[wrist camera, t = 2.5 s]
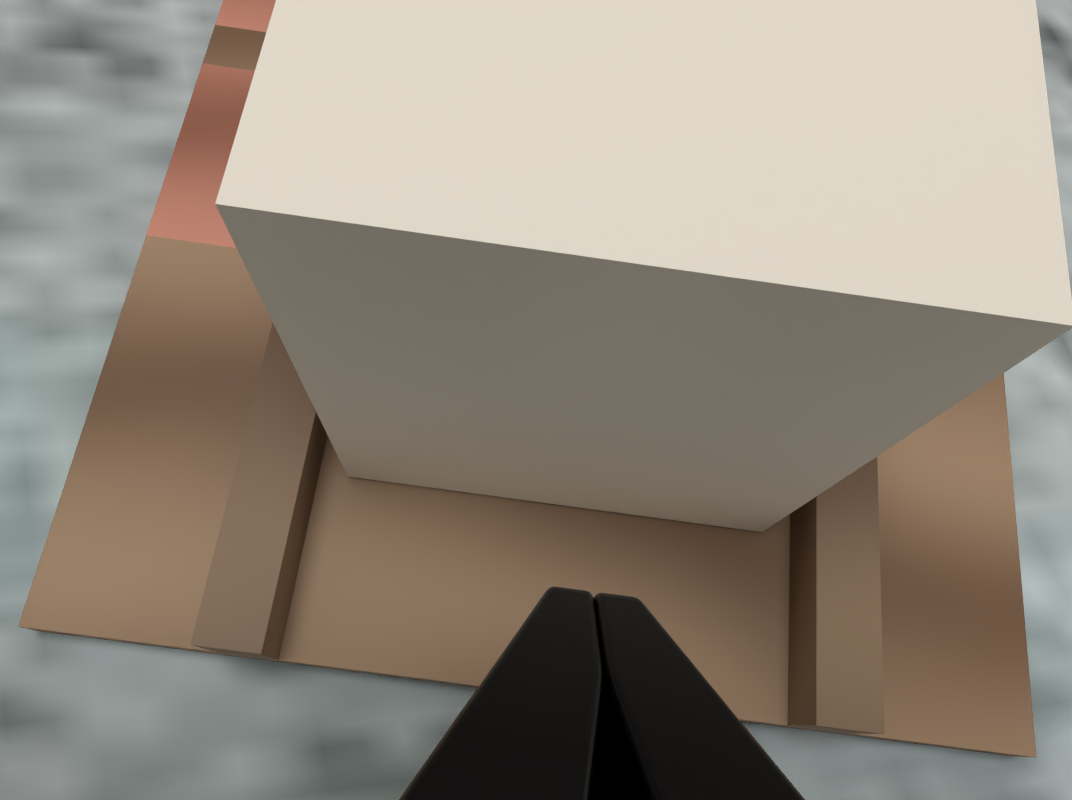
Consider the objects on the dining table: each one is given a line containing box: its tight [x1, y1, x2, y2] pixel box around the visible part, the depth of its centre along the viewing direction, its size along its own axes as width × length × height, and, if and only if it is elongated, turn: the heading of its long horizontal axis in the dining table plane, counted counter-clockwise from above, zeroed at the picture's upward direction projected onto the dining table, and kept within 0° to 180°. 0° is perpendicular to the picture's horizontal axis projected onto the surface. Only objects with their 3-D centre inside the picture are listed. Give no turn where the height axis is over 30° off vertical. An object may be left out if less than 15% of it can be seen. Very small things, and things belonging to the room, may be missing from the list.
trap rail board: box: [18, 0, 1036, 757], centre depth 16 cm, size 21×16×4 cm
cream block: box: [215, 0, 1072, 532], centre depth 12 cm, size 5×7×8 cm
